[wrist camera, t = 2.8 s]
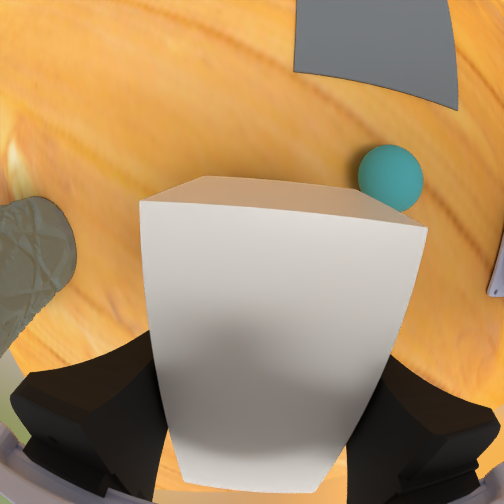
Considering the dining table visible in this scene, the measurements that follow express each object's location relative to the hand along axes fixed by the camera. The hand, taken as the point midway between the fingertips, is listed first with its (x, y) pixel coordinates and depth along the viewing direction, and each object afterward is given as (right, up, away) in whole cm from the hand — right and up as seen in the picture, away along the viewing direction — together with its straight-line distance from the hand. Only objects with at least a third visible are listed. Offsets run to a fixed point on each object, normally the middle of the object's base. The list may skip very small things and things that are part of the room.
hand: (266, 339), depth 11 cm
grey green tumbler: (-19, +4, +10) cm, 21 cm away
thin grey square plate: (+8, +20, +2) cm, 21 cm away
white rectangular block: (0, 0, +1) cm, 2 cm away
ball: (+7, +8, +4) cm, 11 cm away
